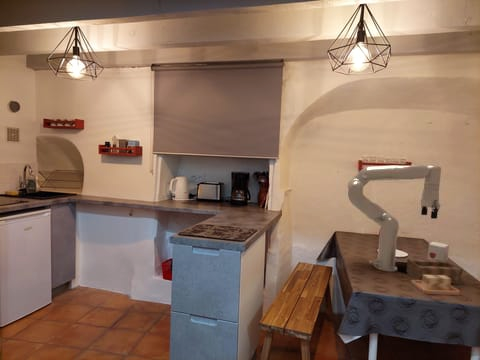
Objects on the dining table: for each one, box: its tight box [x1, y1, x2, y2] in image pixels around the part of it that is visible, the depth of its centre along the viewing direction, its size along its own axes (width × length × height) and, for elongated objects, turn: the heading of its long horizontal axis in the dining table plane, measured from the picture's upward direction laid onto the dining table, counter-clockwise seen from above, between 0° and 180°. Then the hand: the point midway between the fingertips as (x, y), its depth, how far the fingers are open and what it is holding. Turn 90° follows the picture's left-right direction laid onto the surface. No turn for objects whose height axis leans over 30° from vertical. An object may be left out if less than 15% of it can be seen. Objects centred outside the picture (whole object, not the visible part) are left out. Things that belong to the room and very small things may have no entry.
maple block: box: [422, 275, 452, 290], centre depth 165 cm, size 12×4×6 cm, turn 90°
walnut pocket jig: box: [406, 258, 464, 285], centre depth 180 cm, size 22×14×8 cm, turn 89°
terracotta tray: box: [410, 279, 462, 296], centre depth 166 cm, size 18×13×2 cm
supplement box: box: [426, 241, 450, 261], centre depth 197 cm, size 9×9×15 cm
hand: (428, 216), depth 185 cm, fingers open, 9 cm apart
